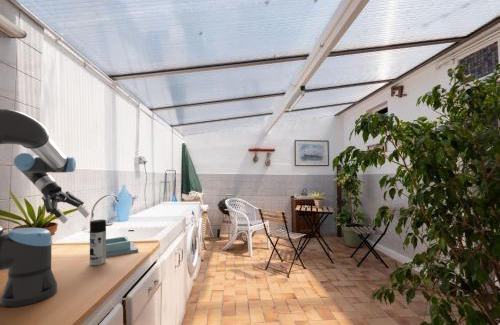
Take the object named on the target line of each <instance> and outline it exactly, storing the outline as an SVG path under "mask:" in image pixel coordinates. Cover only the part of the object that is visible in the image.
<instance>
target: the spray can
mask: <svg viewBox="0 0 500 325" xmlns="http://www.w3.org/2000/svg"><path fill="white" fill-rule="evenodd" d="M106 239H107V220H106V219H94V220H91V221H90V222H89V265H90V266H92V267H93V266H94V267H95V266H101V265H103V264H105V263H107V258H106Z"/></svg>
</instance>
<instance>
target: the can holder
mask: <svg viewBox="0 0 500 325" xmlns="http://www.w3.org/2000/svg"><path fill="white" fill-rule="evenodd" d="M134 253H139V248H138V247H137V246H136V245H135V243H134V242H133V241H132V240H130V239H129V238H128V236H127V235H126V236H125V235H124V236H118V237H111V238H106V259H107V258H111V257H117V256H121V255H129V254H134Z"/></svg>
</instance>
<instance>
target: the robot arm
mask: <svg viewBox="0 0 500 325" xmlns="http://www.w3.org/2000/svg"><path fill="white" fill-rule="evenodd" d="M50 136H51V135H50V132H49V131H48V129H47V128H46V126H44V125H43V124H42V123H41V122H40V121H38V120H36V119H35V118H33V117H32V116H30V115H28V114H26V113H23V112H20V111H17V110H13V109H7V108H0V145H18V146H19V145H20V146H22V147H23V148H25V149H30V150H31V151H32V152H33V153H34V154H35V155H36V156H34V155H33V154H31V153H29V152H21V153H19V154H17V155H16V156H15V157H14V159H13V164H14V166H15V167H16V169H17V170H19V171H20V172H21V173H23V175H24V176H25V177H26V178H27V179H28V180H29V181H30V182H32V184H33V186H35V187H36V188H37V189H38V191H39V192H40V193H41V194H42V196H41V200H42V201H43V204H44V207H45V212H46V213H47V214H50V215H54V216H55V217H56V218H57V219H58V220H59V221H60V222H61V223H62V224H65V223H67V222H68V220H69V218H68V217H67V216H66V214H64V213H63V211H62V210H61V209H58V203H63V204H64V203H67V204H69V205H71V206H73V207H76V210H78V212H79V213H80V214H81V215H82V216H83V217H84V219H87V218H88V217H89V215H90V212H89V211H88V210H87V209H86V207H84V204H85V201H83V200H81V199H80V198H78V197H76V196H74V194H72V193H71V192H69V191H65V192H63V191H62V186H60V184H59V183H58V182H57V181H56V179H54V178H53V177H52V176H51V175H50V174H51V173H52V174H53V173H55V174H56V173H65V174H66V173H73V172H75V171H76V167H77V166H76V165H77V160H76V158H75V157H74V156H66V155H65V154H64V153H63V152H62V151H61V149H60V148H59V147H58V146H57V144H55V142H54V141H53V140H52V138H50ZM49 173H50V174H49ZM52 244H53V241H52V233H51V231H50V230H49V229H46V228H43V227H42V228H41V227H20V228H19V227H18V228H14V229H11V230H9V231H8V233H5V234H4V227H3V226H1V225H0V271H2V270H7V274H8V275H7V281H6V282H5V285H4V288H3V291H2V293H1V296H0V305H1V304H2V305H4V306H10V307H9V308H17V307H16V306H18V307H24V306H27V305H28V304H29V305H32V304H31V303H33V304H35V302H36V303H38V301H39V302H42V301H44V300H46V299H48V298H50V297H52V296H53V295H55V294H56V293H57V291H58V283H57V280H56V278H55V275H54V273H53V271H52ZM41 300H42V301H41ZM2 305H1V306H2ZM23 305H24V306H23ZM29 305H28V306H29ZM4 306H3V307H4Z"/></svg>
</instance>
